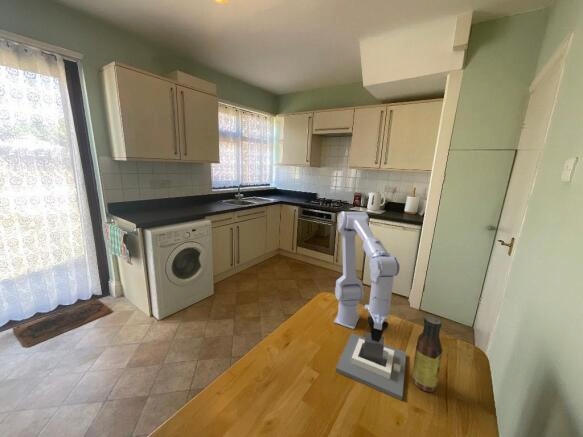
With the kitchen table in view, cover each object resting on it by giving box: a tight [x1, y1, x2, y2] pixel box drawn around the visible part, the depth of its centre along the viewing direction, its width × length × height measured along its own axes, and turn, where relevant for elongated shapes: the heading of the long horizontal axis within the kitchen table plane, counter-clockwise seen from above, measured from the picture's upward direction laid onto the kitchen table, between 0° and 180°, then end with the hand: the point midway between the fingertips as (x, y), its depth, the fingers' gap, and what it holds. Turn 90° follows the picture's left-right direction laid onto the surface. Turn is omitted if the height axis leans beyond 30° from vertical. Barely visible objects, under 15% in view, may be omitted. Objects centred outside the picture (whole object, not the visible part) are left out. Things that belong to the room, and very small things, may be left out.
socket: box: [335, 332, 407, 401], centre depth 73 cm, size 18×18×3 cm
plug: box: [363, 331, 385, 364], centre depth 73 cm, size 4×5×7 cm
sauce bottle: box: [411, 315, 443, 393], centre depth 65 cm, size 6×6×20 cm
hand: (375, 336), depth 72 cm, fingers open, 3 cm apart
